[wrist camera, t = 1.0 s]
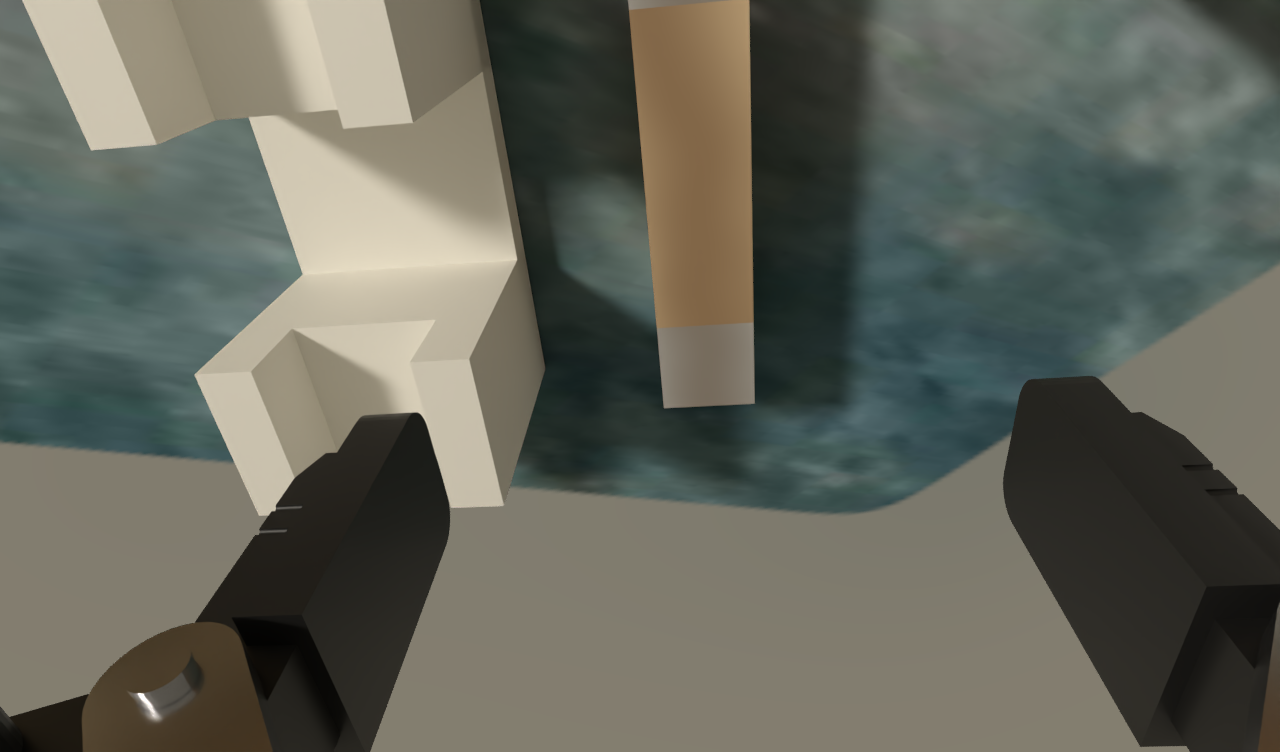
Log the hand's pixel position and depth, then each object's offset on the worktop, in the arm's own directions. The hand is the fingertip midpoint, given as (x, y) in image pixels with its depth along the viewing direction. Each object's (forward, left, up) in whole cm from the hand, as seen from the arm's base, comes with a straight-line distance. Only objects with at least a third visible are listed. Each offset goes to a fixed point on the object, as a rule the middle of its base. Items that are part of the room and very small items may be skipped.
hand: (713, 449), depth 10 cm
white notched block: (+10, 0, -16) cm, 19 cm away
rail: (0, 0, -17) cm, 17 cm away
